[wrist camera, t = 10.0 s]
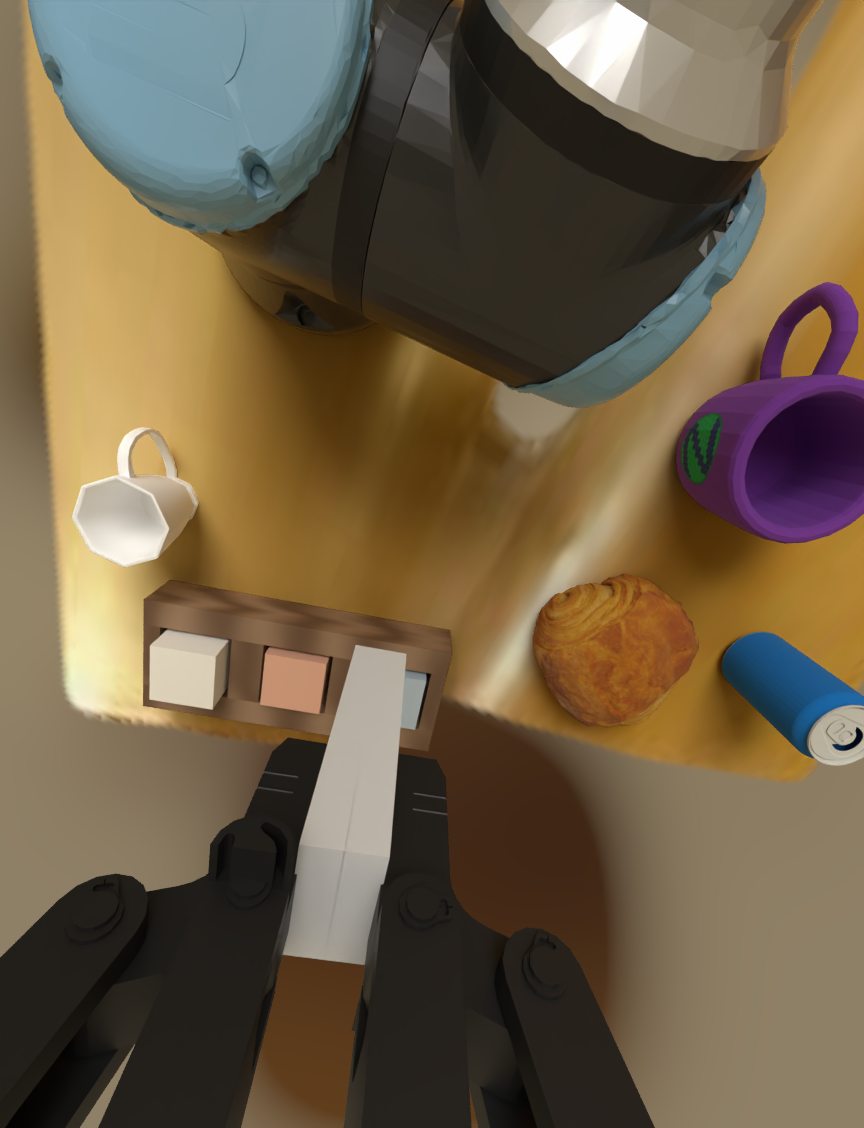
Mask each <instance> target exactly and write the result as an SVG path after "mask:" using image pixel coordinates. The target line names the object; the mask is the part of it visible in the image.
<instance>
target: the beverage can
mask: <svg viewBox="0 0 864 1128" xmlns="http://www.w3.org/2000/svg"><path fill="white" fill-rule="evenodd" d="M722 672H723V675H724V677H725V679H726V680H727V681H728V682H729V683H730V684H731V685H732V686H733V687H734V688H735V689H736V690H737V691H738V692H739V693H740V694H741V695H742V696H743V697H744V698H745V699H746V700H747V701H748V702H749V703H750V704H751V705H752V706H753V707H754V708H755V709H756V710H757V711H758V712H759V713H761V714H762V715H763V716H764V717H765V718H766V719H767V720H768V721H769V722H770V723H771V724H772V725H773V726H774V727H775V728H776V729H777V730H778V731H779V732H780V733H781V734H782V735H783V736H784V737H785V738H786V739H787V740H788V741H789V742H790V743H791V744H792V745H793V746H794V747H795V748H796V749H797V750H799V751H800V752H801V753H803V754H804V755H806V756H809V757H811V758H815V759H816V760H818V761H819V762H821V763H824V764H827V765H845V764H849V763H852V762H855V761H857V760H859V759H861V758H863V757H864V696H862V695H861V694H859V693H858V692H857V691H855V690H854V689H852V688H851V687H850V686H848V685H847V684H845V683H844V682H842V681H841V680H840V679H838V678H837V677H835V676H834V675H833V674H831V673H830V672H828V671H827V670H825V669H824V668H823V667H821V666H820V665H818V664H817V663H816V662H814V661H813V660H811V659H810V658H808V657H807V656H806V655H804V654H803V653H801V652H800V651H799V650H797V649H796V648H794V647H793V646H791V645H790V644H789V643H787V642H786V641H784V640H783V639H782V638H780V637H779V636H777V635H775V634H772V633H768V632H756V633H751V634H748V635H746V636H743V637H742V638H740V639H738V640H737V641H736V642H734V643H733V644H732V645H731V646H730V647H729V649H728V650H727V651H726V653H725V655H724V657H723V661H722Z"/></svg>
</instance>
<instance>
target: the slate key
mask: <svg viewBox="0 0 864 1128" xmlns="http://www.w3.org/2000/svg"><path fill="white" fill-rule="evenodd" d="M425 684H426V673H424V672H418V671H412V670H406V669H405V678H404V690H403V702H402V714H401V727H400V728H407V729H413V730H415V728H416V723H417V719H418V715H419V710H420V706H421V702H422V697H423V693H424V689H425Z"/></svg>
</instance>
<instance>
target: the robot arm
mask: <svg viewBox="0 0 864 1128" xmlns="http://www.w3.org/2000/svg"><path fill="white" fill-rule="evenodd" d="M27 1H28V7H29V14H30V19H31V24H32V29H33V33H34V37H35V41H36V44H37V48H38V52H39V55H40V58H41V61H42V64H43V67H44V70H45V72H46V74H47V76H48V78H49V79H50V80H51V81H52V84H53V88H54V92H55V93H56V94H57V96H58V97H59V99H60V101H61V103H62V105H63V108H64V112H65V115H66V117H67V119H68V120H69V122H70V124H71V125H72V127H73V128H74V130H75V132H76V133H77V134H78V136H79V137H80V139H81V140H82V141H83V143H84V144H85V146H86V147H87V148H88V149H89V151H90V152H91V153H92V154H93V156H94V157H95V158H96V159H97V160H98V161H99V162H100V163H101V164H102V165H103V166H104V168H105V169H106V170H107V171H108V172H109V173H111V174H112V175H113V176H114V177H115V178H116V179H117V180H118V181H119V182H121V183H122V184H123V185H124V186H125V187H127V188H128V189H129V190H130V192H131V194H132V195H133V197H134V198H135V199H136V200H137V201H138V202H139V203H140V204H142V205H144V206H146V207H147V208H148V209H149V210H150V212H151V213H152V214H154V215H155V216H157V217H159V218H160V219H162V220H164V221H166V222H168V223H169V224H171V225H174V226H176V227H179V228H183V229H185V230H188V231H189V232H191V233H192V234H194V235H195V236H197V237H198V238H200V239H202V240H203V241H205V242H206V243H208V244H209V245H211V246H212V247H214V248H215V249H217V250H218V251H220V252H221V253H222V255H223V257H224V259H225V261H226V263H227V265H228V267H229V269H230V271H231V272H232V274H233V275H234V277H235V278H236V280H237V281H238V283H239V284H240V285H241V287H242V288H243V289H244V290H245V292H246V293H247V294H248V295H249V296H250V297H251V298H252V299H253V300H254V301H255V302H256V303H257V304H258V305H259V306H260V307H261V308H263V309H264V310H265V311H267V312H268V313H269V314H271V315H272V316H274V317H275V318H277V319H279V320H281V321H282V322H285V323H287V324H289V325H291V326H293V327H295V328H298V329H300V330H303V331H306V332H310V333H314V334H320V335H343V334H349V333H353V332H357V331H360V330H362V329H365V328H367V327H369V326H371V325H373V324H375V323H376V322H377V323H379V324H381V325H383V326H385V327H387V328H389V329H392V330H394V331H396V332H398V333H400V334H402V335H404V336H406V337H408V338H410V339H413V340H415V341H417V342H419V343H421V344H423V345H425V346H427V347H429V348H432V349H434V350H436V351H438V352H440V353H442V354H444V355H446V356H448V357H451V358H453V359H455V360H457V361H459V362H461V363H463V364H465V365H467V366H470V367H472V368H474V369H476V370H478V371H480V372H482V373H484V374H486V375H489V376H491V377H493V378H495V379H497V380H499V381H501V382H503V384H504V385H505V386H507V387H508V388H510V389H512V390H517V391H518V392H523V393H533V394H536V395H538V396H540V397H543V398H546V399H548V400H550V401H553V402H555V403H558V404H560V405H564V406H567V407H575V408H584V407H590V406H594V405H598V404H602V403H604V402H607V401H609V400H611V399H613V398H615V397H617V396H619V395H621V394H623V393H624V392H626V391H628V390H629V389H631V388H632V387H634V386H635V385H637V384H638V383H639V382H641V381H642V380H643V379H645V378H646V377H647V376H648V375H650V374H651V373H652V372H653V371H654V370H656V369H657V368H658V367H659V366H660V365H661V364H662V363H663V362H664V361H666V360H667V359H668V358H669V357H670V356H671V355H672V354H673V353H674V352H675V351H676V350H677V349H678V348H679V347H680V346H681V345H682V344H683V343H684V342H685V341H686V339H687V338H688V337H689V336H690V335H691V334H692V333H693V332H694V330H695V329H696V328H697V327H698V326H699V324H700V323H701V322H702V321H703V319H704V318H705V317H706V316H707V314H708V313H709V312H710V310H711V309H712V307H711V299H712V297H713V295H714V294H715V293H716V292H718V291H719V290H720V289H721V288H722V287H723V286H725V285H726V284H728V283H729V282H730V281H731V280H733V278H734V276H735V275H736V273H737V271H738V270H739V268H740V267H741V265H742V263H743V261H744V260H745V258H746V256H747V254H748V253H749V251H750V249H751V247H752V244H753V242H754V240H755V238H756V235H757V233H758V230H759V227H760V225H761V222H762V219H763V216H764V211H765V201H766V185H765V182H764V179H763V177H762V176H761V172H760V168H759V166H760V165H761V164H762V163H763V161H764V160H765V159H766V158H767V156H768V155H769V154H770V153H771V152H772V150H773V149H774V148H775V146H776V145H777V143H778V142H779V140H780V139H781V137H782V136H783V135H784V133H785V131H786V130H787V128H788V119H789V107H790V94H791V81H792V67H793V57H794V54H795V51H796V47H797V44H798V41H799V37H800V34H801V32H802V31H803V29H804V28H805V27H806V25H807V24H808V22H809V21H810V20H811V18H812V17H813V15H814V14H815V13H816V11H817V10H818V8H819V7H820V5H821V4H822V3H823V1H824V0H464V1H463V0H27ZM405 666H406V654H405V653H399V652H393V651H388V650H382V649H376V648H370V647H365V646H359V645H356V646H355V649H354V653H353V656H352V660H351V663H350V667H349V670H348V674H347V677H346V681H345V684H344V688H343V691H342V695H341V698H340V702H339V706H338V709H337V713H336V716H335V720H334V723H333V727H332V730H331V734H330V737H329V741H328V744H325V743H318V742H312V741H306V740H300V739H293V738H287V739H286V740H285V741H284V742H283V743H282V744H281V745H279V746H278V747H277V748H276V749H275V750H274V751H273V752H272V754H271V756H270V759H269V761H268V763H267V766H266V768H265V771H264V774H263V775H262V777H261V780H260V782H259V784H258V788H257V789H256V791H255V794H254V796H253V798H252V801H251V803H250V805H249V807H248V810H247V813H246V814H245V817H244V818H242V819H239V820H236V821H233V822H232V823H230V824H229V825H228V826H226V827H225V828H223V829H222V830H221V831H220V832H219V833H218V834H217V836H216V837H215V838H214V840H213V841H212V843H211V844H210V858H209V873H208V874H207V875H206V876H204V877H202V878H200V879H198V880H196V881H194V882H191V883H188V884H184V885H180V886H176V887H171V888H165V889H159V890H154V891H148V892H146V890H145V888H144V885H143V884H141V883H140V882H139V881H138V880H136V879H135V878H134V877H132V876H126V875H120V874H111V875H106V876H99V877H96V878H93V879H91V880H89V881H87V882H84V883H82V884H80V885H78V886H76V887H75V888H73V889H72V890H71V891H70V892H68V893H67V894H66V895H65V896H63V897H62V898H61V899H59V900H58V901H57V902H56V903H55V904H54V905H53V906H52V907H51V908H50V909H49V910H48V911H47V912H46V913H45V914H44V915H43V916H42V917H41V918H40V919H39V920H38V921H37V922H36V923H35V924H34V925H33V926H32V927H31V928H30V929H29V930H28V931H27V932H26V933H25V934H24V935H23V936H22V937H21V938H20V939H19V940H18V941H17V942H16V943H15V944H14V945H13V946H12V947H11V948H10V949H9V950H8V951H7V952H6V953H5V954H3V956H1V957H0V1128H80V1126H81V1125H82V1123H83V1122H84V1120H85V1119H86V1117H87V1116H88V1114H89V1113H90V1111H91V1110H92V1108H93V1107H94V1105H95V1103H96V1101H97V1100H98V1099H99V1097H100V1096H101V1094H102V1093H103V1091H104V1090H105V1088H106V1087H107V1085H108V1084H109V1082H110V1080H111V1079H112V1078H113V1076H114V1075H115V1073H116V1072H117V1070H118V1069H119V1067H120V1065H121V1064H122V1062H123V1061H124V1059H125V1058H126V1056H127V1055H128V1053H129V1052H130V1050H131V1049H132V1047H133V1046H134V1044H135V1046H134V1049H133V1051H132V1053H131V1055H130V1058H129V1060H128V1062H127V1064H126V1067H125V1069H124V1071H123V1074H122V1076H121V1078H120V1080H119V1082H118V1085H117V1087H116V1090H115V1091H114V1094H113V1096H112V1098H111V1100H110V1103H109V1105H108V1107H107V1109H106V1112H105V1114H104V1116H103V1118H102V1121H101V1123H100V1125H99V1127H98V1128H241V1125H242V1121H243V1117H244V1113H245V1109H246V1105H247V1101H248V1097H249V1093H250V1089H251V1085H252V1081H253V1077H254V1073H255V1070H256V1066H257V1061H258V1058H259V1054H260V1050H261V1046H262V1042H263V1038H264V1034H265V1030H266V1026H267V1022H268V1018H269V1013H270V1010H271V1006H272V1002H273V998H274V994H275V988H276V981H277V974H278V970H279V966H280V963H281V959H282V955H290V956H298V957H306V958H314V959H322V960H330V961H338V962H346V963H354V964H362V965H364V964H365V971H364V979H363V986H362V990H361V994H360V998H359V1003H358V1007H357V1011H356V1016H355V1019H354V1023H353V1027H352V1030H353V1031H355V1036H354V1045H353V1053H352V1062H351V1070H350V1079H349V1088H348V1097H347V1105H346V1113H345V1122H344V1128H471V1112H470V1094H469V1088H470V1092H471V1096H472V1101H473V1105H474V1110H475V1114H476V1118H477V1123H478V1127H479V1128H655V1127H654V1125H653V1123H652V1121H651V1119H650V1116H649V1114H648V1112H647V1110H646V1108H645V1105H644V1103H643V1101H642V1099H641V1097H640V1095H639V1093H638V1090H637V1088H636V1086H635V1084H634V1082H633V1079H632V1077H631V1075H630V1073H629V1071H628V1068H627V1066H626V1064H625V1062H624V1060H623V1058H622V1055H621V1053H620V1051H619V1049H618V1047H617V1044H616V1043H615V1040H614V1038H613V1036H612V1034H611V1032H610V1029H609V1027H608V1025H607V1023H606V1021H605V1018H604V1016H603V1014H602V1012H601V1010H600V1007H599V1005H598V1003H597V1001H596V999H595V997H594V994H593V992H592V990H591V988H590V986H589V983H588V981H587V979H586V977H585V975H584V973H583V970H582V968H581V966H580V964H579V963H578V961H577V960H576V958H575V957H574V955H573V953H572V952H571V950H570V949H569V948H568V947H567V946H566V945H565V944H564V943H563V942H562V941H561V940H559V938H557V937H556V936H555V935H552V934H550V933H548V932H546V931H544V930H542V929H535V928H525V929H522V930H520V931H517V932H515V933H514V934H513V935H512V936H511V938H508V937H506V936H504V935H502V934H500V933H498V932H496V931H494V930H492V929H490V928H488V927H486V926H484V925H483V924H481V923H480V922H478V921H476V920H475V919H473V918H472V917H471V916H470V915H469V914H468V913H467V912H466V911H465V910H464V909H463V908H462V906H461V905H460V903H459V902H458V900H457V899H456V897H455V894H454V892H453V889H452V886H451V880H450V867H449V845H448V822H447V801H446V777H445V775H444V774H443V772H442V770H441V768H440V766H439V764H438V762H437V760H435V759H428V758H422V757H416V756H410V755H403V754H398V751H399V739H400V727H401V714H402V702H403V690H404V678H405ZM365 960H366V961H365Z"/></svg>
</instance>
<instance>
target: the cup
mask: <svg viewBox="0 0 864 1128" xmlns="http://www.w3.org/2000/svg"><path fill="white" fill-rule="evenodd" d="M145 434H149V435H150V436H151V438H152V439H153V440H154V442H155V444H156V446H157V448H158V450H159V452H160V454H161V456H162V458H163V461H164V464H165V467H166V475H167V477H166V476H160V475H154V474H146V475H134V471H133V466H132V461H131V453H132V449H133V447H134V446H135V444H136V442H137V440H138V439H139V438H141V437H142V436H143V435H145ZM118 472H119V475H116V476H113V477H109V478H106V479H102V480H99V481H96V482H92V483H89V484H85V485H82V487H81V490H80V493H79V496H78V499H77V502H76V505H75V508H74V511H73V514H72V519H73V521H74V523H75V525H76V526H77V528H78V530H79V532H80V534H81V536H82V538H83V539H84V541H85V543H86V545H87V547H88V549H89V550H90V551H91V552H93V553H95V554H97V555H99V556H102V557H104V558H106V559H108V560H110V561H112V562H114V563H116V564H118V565H121V566H123V567H129V566H132V565H136V564H139V563H143V562H147V561H150V560H154V559H157V558H158V557H159V556H160V555H161V554H162V553H163V552H164V551H165V550H166V549H167V548H168V547H169V545H170V544H171V543H172V542H173V541H174V540H175V539H176V538H177V537H178V536H179V535H180V534H181V532H182V531H183V529H184V528H185V526H186V524H187V522H188V520H191V519H193V517H194V514H195V512H196V510H197V507H198V505H199V501H198V499H197V496H196V494H195V492H194V490H193V487H192V485H191V484H189V483H187V482H185V481H183V480H181V479H179V478H177V469H176V465H175V462H174V459H173V456H172V454H171V452H170V449H169V447H168V445H167V443H166V441H165V439H164V438H163V436H162V435H161V434H160V432H159V431H157V430H154V429H151V428H143V427H141V428H137V429H134V430H132V431H131V432H129V433H128V434H127V435H125V436H124V438H123V440H122V442H121V444H120V446H119V450H118Z"/></svg>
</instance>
